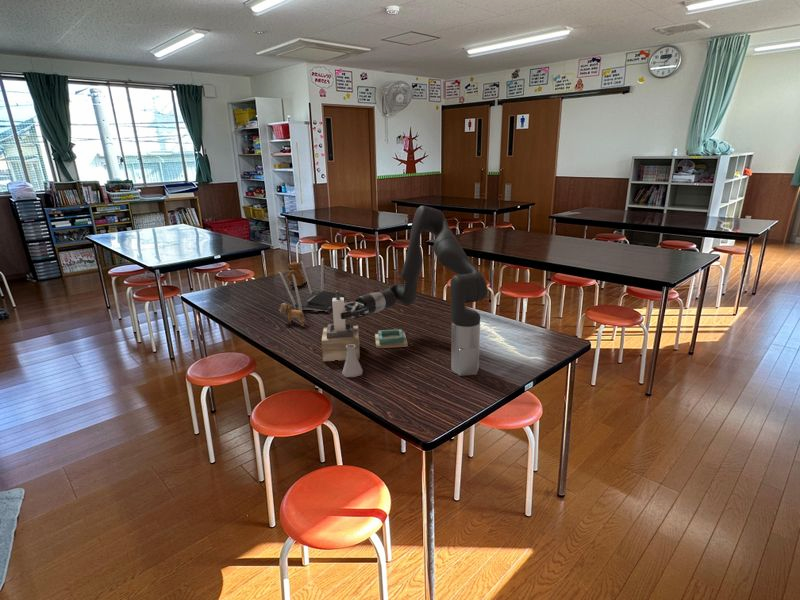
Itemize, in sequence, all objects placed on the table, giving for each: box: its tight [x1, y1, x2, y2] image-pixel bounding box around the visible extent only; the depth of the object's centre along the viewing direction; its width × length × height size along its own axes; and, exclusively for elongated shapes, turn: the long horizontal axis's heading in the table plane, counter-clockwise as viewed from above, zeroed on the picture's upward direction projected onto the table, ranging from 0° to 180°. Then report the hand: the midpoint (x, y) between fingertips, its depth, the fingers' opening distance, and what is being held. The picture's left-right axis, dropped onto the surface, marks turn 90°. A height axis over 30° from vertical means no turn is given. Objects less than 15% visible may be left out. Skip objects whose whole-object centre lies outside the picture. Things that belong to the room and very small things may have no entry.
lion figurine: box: [278, 302, 310, 326], centre depth 197 cm, size 15×5×9 cm, turn 67°
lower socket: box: [374, 328, 409, 349], centre depth 176 cm, size 12×12×3 cm
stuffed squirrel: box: [285, 261, 307, 287], centre depth 255 cm, size 10×14×13 cm
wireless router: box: [278, 257, 345, 313], centre depth 220 cm, size 34×23×20 cm
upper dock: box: [321, 322, 361, 362], centre depth 166 cm, size 13×13×10 cm
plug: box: [332, 290, 347, 332], centre depth 162 cm, size 4×4×16 cm
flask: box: [341, 344, 364, 378], centre depth 150 cm, size 7×7×10 cm
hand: (334, 313), depth 161 cm, fingers open, 8 cm apart
